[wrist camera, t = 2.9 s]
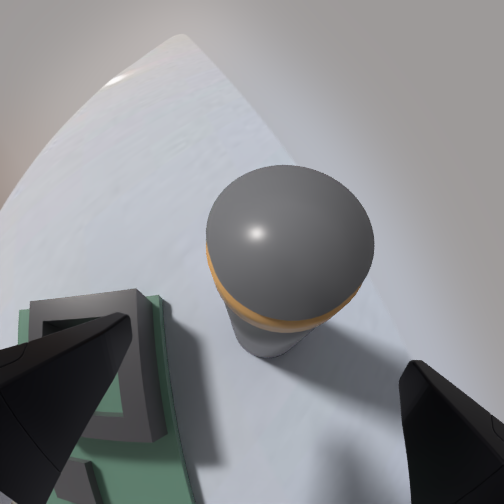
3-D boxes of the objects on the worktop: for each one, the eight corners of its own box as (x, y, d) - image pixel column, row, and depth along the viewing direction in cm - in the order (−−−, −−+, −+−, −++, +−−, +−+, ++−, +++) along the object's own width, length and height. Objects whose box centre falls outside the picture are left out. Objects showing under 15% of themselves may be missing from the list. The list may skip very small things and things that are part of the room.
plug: (307, 351, 17) (400, 295, 6) (238, 364, 17) (213, 334, 6) (293, 288, 19) (343, 158, 8) (228, 298, 19) (196, 173, 8)
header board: (203, 530, 11) (194, 555, 8) (50, 502, 10) (25, 511, 7) (161, 298, 19) (143, 279, 16) (24, 312, 18) (-3, 298, 14)
